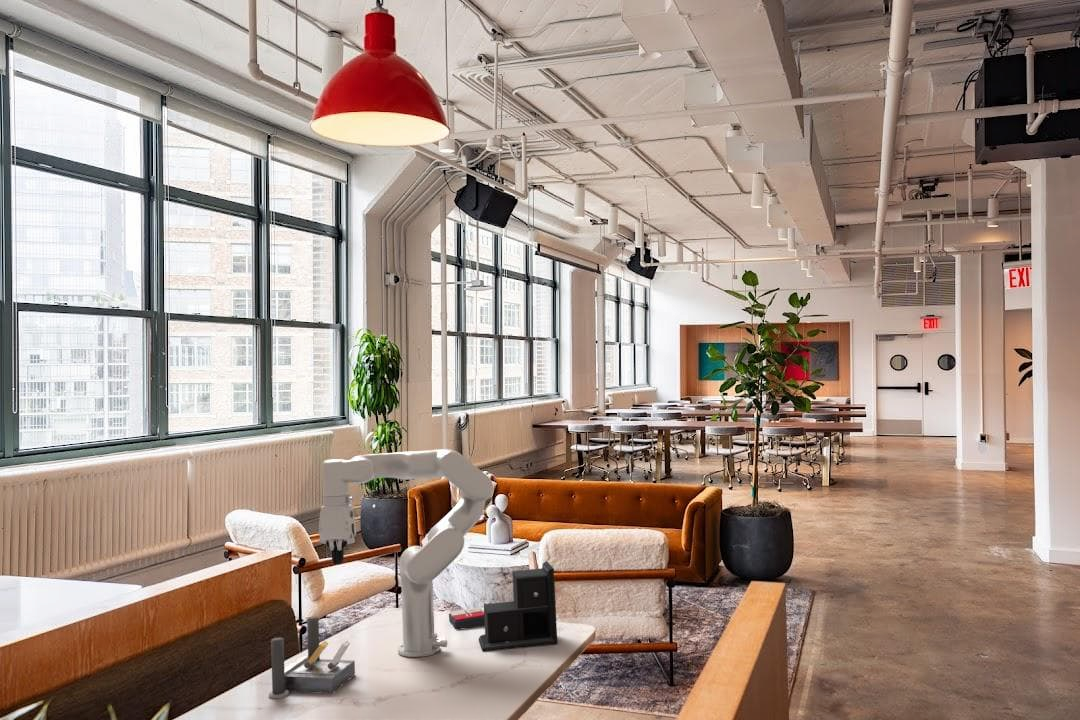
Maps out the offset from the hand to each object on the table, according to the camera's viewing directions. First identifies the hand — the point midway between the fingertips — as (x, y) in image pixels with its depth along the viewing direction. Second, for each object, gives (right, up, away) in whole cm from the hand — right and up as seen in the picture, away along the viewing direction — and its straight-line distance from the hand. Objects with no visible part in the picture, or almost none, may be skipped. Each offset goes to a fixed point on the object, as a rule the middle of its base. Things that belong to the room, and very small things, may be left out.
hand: (338, 563), depth 252 cm
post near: (-10, -29, -26) cm, 40 cm away
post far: (-5, -29, -6) cm, 30 cm away
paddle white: (+3, -23, -18) cm, 30 cm away
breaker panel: (-2, -29, -17) cm, 34 cm away
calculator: (+38, -29, +35) cm, 59 cm away
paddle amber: (-4, -24, -17) cm, 29 cm away
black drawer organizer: (+53, -28, +11) cm, 61 cm away
